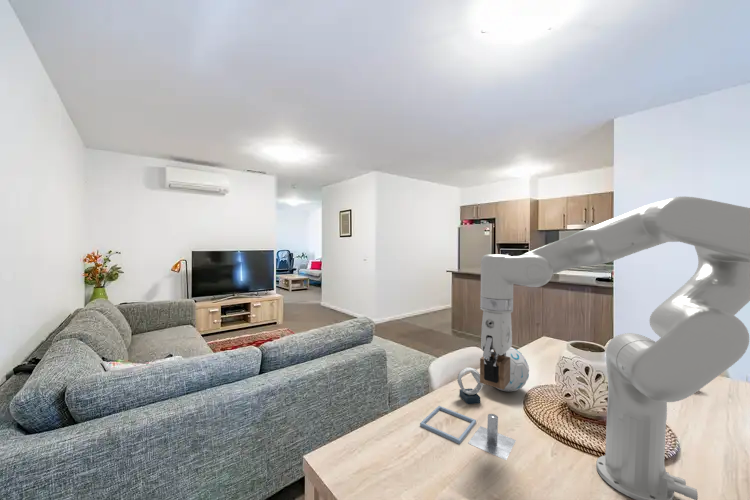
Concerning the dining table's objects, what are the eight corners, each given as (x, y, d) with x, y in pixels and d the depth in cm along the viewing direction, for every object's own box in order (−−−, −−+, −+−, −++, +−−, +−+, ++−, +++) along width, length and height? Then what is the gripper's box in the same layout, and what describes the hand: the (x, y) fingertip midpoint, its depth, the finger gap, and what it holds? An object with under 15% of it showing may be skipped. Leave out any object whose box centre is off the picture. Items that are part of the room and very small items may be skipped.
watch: (485, 406, 93) (486, 371, 92) (461, 408, 91) (462, 373, 91) (477, 397, 98) (478, 364, 98) (454, 398, 97) (454, 365, 97)
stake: (515, 444, 75) (516, 415, 75) (506, 465, 68) (507, 432, 68) (480, 430, 81) (481, 402, 80) (467, 447, 74) (468, 417, 73)
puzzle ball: (475, 378, 112) (476, 339, 111) (514, 378, 112) (515, 339, 112) (492, 400, 96) (493, 354, 96) (537, 400, 97) (539, 354, 97)
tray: (475, 427, 82) (476, 420, 82) (459, 448, 73) (459, 440, 73) (438, 412, 89) (439, 405, 89) (420, 430, 80) (420, 422, 80)
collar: (510, 381, 74) (510, 357, 74) (503, 389, 70) (504, 364, 70) (487, 374, 78) (487, 352, 78) (479, 382, 73) (480, 358, 73)
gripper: (502, 312, 64) (500, 395, 65) (521, 301, 78) (519, 369, 78) (468, 307, 69) (467, 384, 69) (491, 297, 82) (490, 362, 83)
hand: (495, 375), depth 74 cm, fingers closed on collar, 5 cm apart
